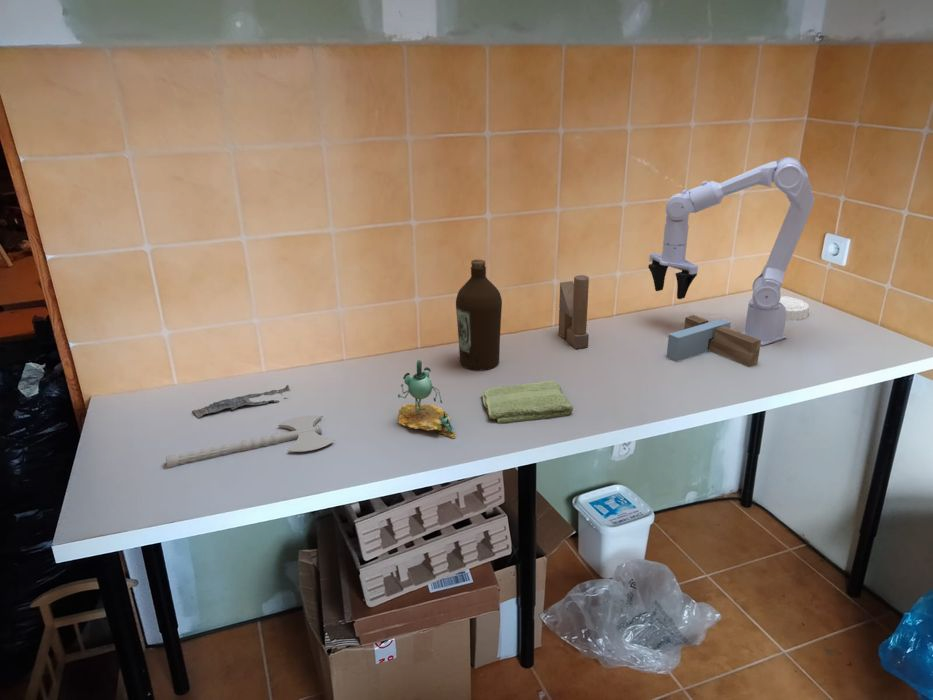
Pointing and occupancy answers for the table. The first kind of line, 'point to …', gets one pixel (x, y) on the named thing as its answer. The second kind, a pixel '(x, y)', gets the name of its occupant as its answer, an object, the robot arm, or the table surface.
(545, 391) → the washcloth
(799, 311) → the mooncake
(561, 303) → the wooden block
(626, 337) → the table surface
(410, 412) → the frog figurine
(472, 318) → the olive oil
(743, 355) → the walnut beam
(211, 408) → the driftwood
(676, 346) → the slate crossbar
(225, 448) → the axe
